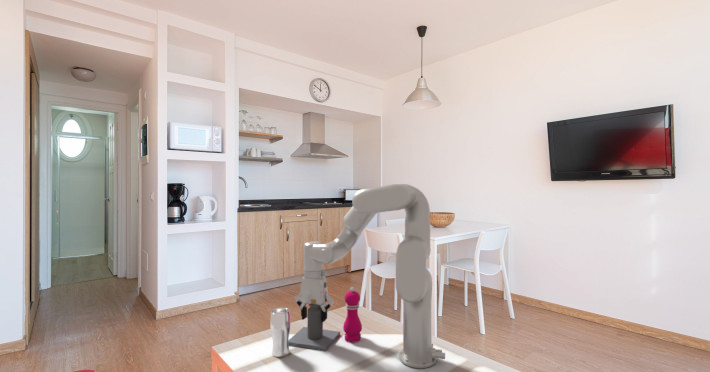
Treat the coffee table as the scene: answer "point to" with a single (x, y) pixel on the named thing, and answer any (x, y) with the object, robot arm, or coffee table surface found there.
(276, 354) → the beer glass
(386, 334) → the coffee table surface
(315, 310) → the bottle
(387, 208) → the robot arm
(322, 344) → the mat
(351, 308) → the pepper mill
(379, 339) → the coffee table surface
